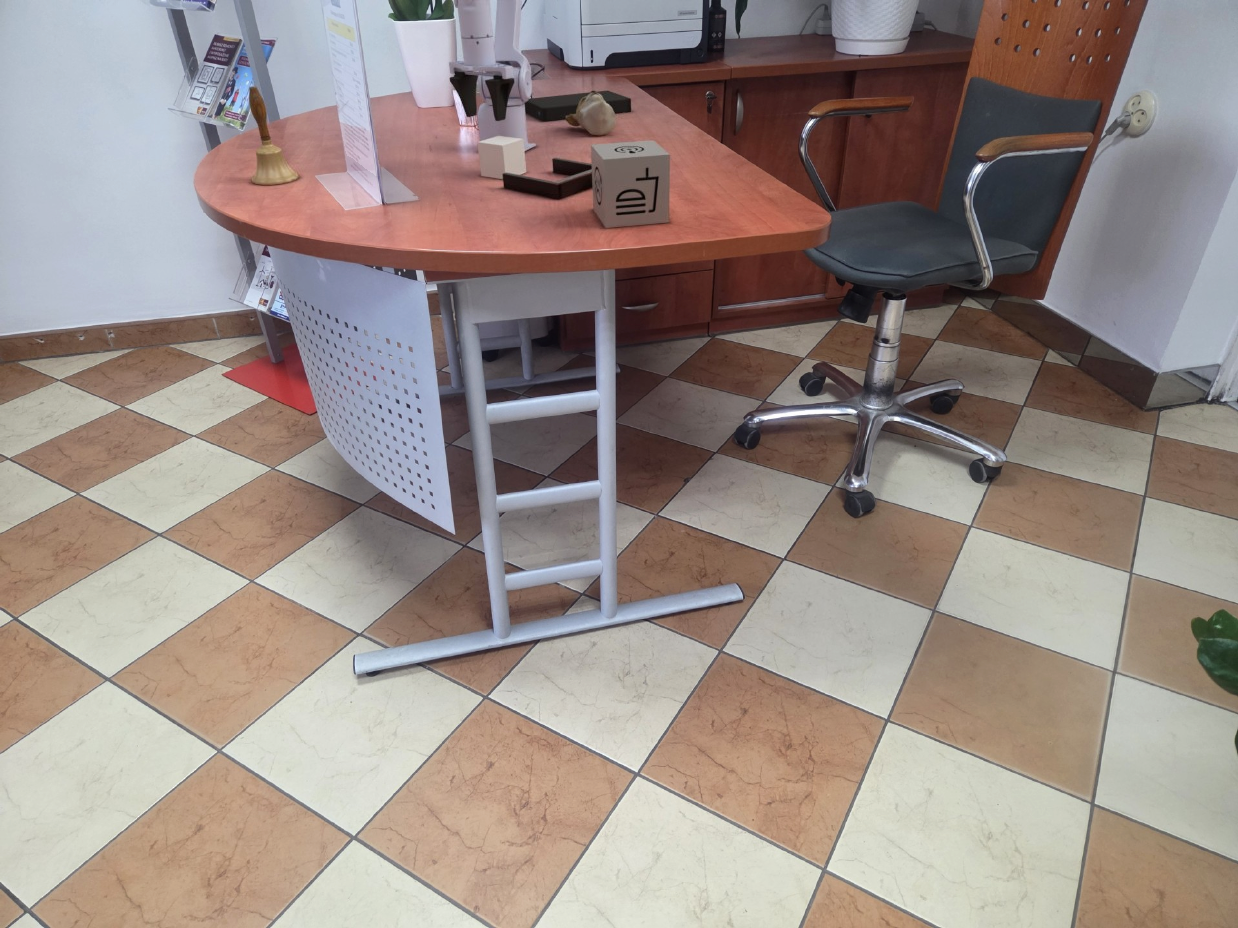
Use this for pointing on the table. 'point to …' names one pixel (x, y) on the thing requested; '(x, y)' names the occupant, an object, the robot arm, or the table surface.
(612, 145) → the icon cube
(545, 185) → the frame
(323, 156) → the table surface
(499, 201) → the table surface
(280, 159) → the hand bell
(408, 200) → the table surface
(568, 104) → the external hard drive
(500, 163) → the white cube
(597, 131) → the ceramic sculpture
